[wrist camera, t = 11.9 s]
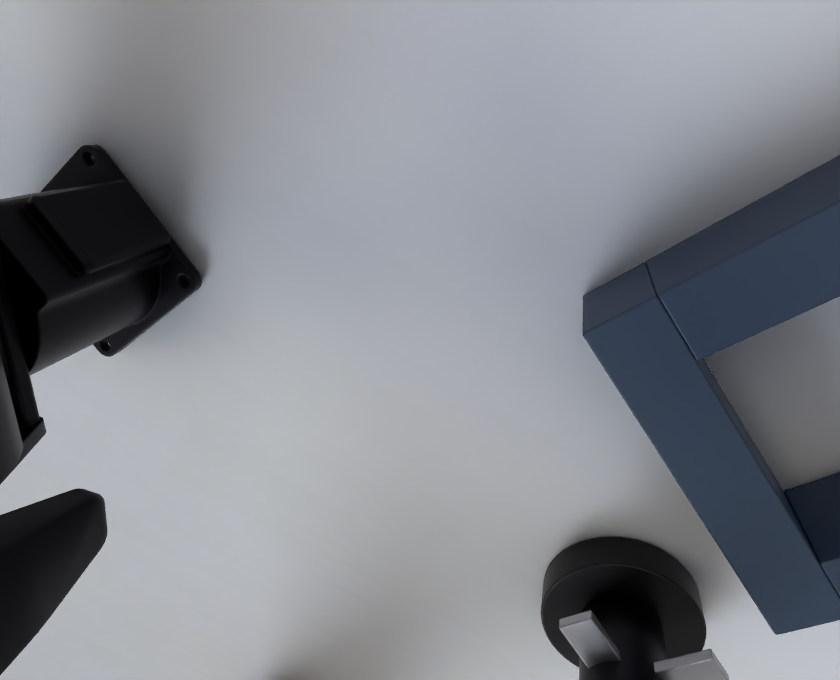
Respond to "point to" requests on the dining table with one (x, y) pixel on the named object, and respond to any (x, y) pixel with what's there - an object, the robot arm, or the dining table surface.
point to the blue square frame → (704, 399)
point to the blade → (626, 613)
